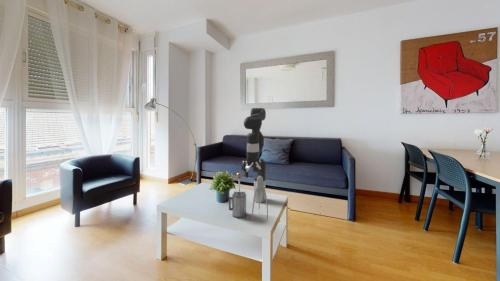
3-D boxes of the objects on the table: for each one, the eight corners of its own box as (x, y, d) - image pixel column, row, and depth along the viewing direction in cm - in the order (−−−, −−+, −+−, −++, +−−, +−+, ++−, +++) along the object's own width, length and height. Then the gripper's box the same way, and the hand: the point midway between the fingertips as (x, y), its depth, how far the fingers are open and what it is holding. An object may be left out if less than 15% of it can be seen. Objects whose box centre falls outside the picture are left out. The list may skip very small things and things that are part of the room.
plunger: (234, 196, 145) (234, 171, 142) (244, 196, 144) (244, 171, 142) (233, 200, 138) (233, 174, 136) (243, 200, 138) (243, 174, 135)
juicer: (266, 214, 144) (266, 172, 140) (267, 220, 135) (268, 176, 131) (251, 214, 143) (251, 172, 140) (252, 220, 134) (252, 176, 131)
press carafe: (245, 218, 138) (245, 196, 136) (228, 217, 138) (227, 196, 136) (246, 211, 147) (246, 191, 145) (230, 211, 148) (230, 191, 146)
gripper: (259, 148, 130) (259, 172, 132) (239, 150, 123) (239, 176, 125) (266, 150, 123) (265, 176, 126) (245, 152, 116) (245, 180, 119)
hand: (252, 176), depth 126 cm, fingers open, 8 cm apart
